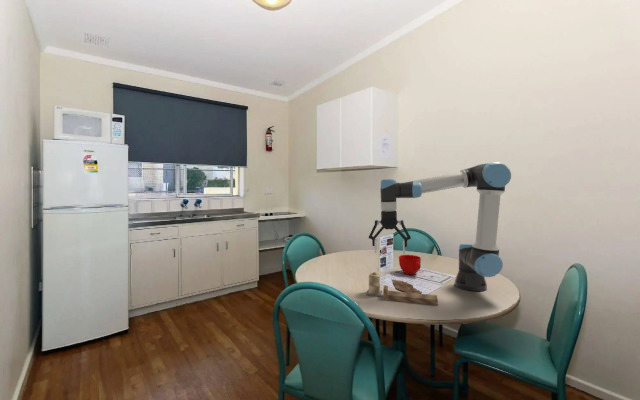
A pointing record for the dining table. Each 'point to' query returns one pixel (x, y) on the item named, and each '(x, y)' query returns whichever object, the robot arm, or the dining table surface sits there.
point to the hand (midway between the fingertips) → (389, 253)
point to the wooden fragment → (405, 287)
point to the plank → (409, 297)
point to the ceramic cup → (409, 264)
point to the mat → (374, 294)
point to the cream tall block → (374, 283)
